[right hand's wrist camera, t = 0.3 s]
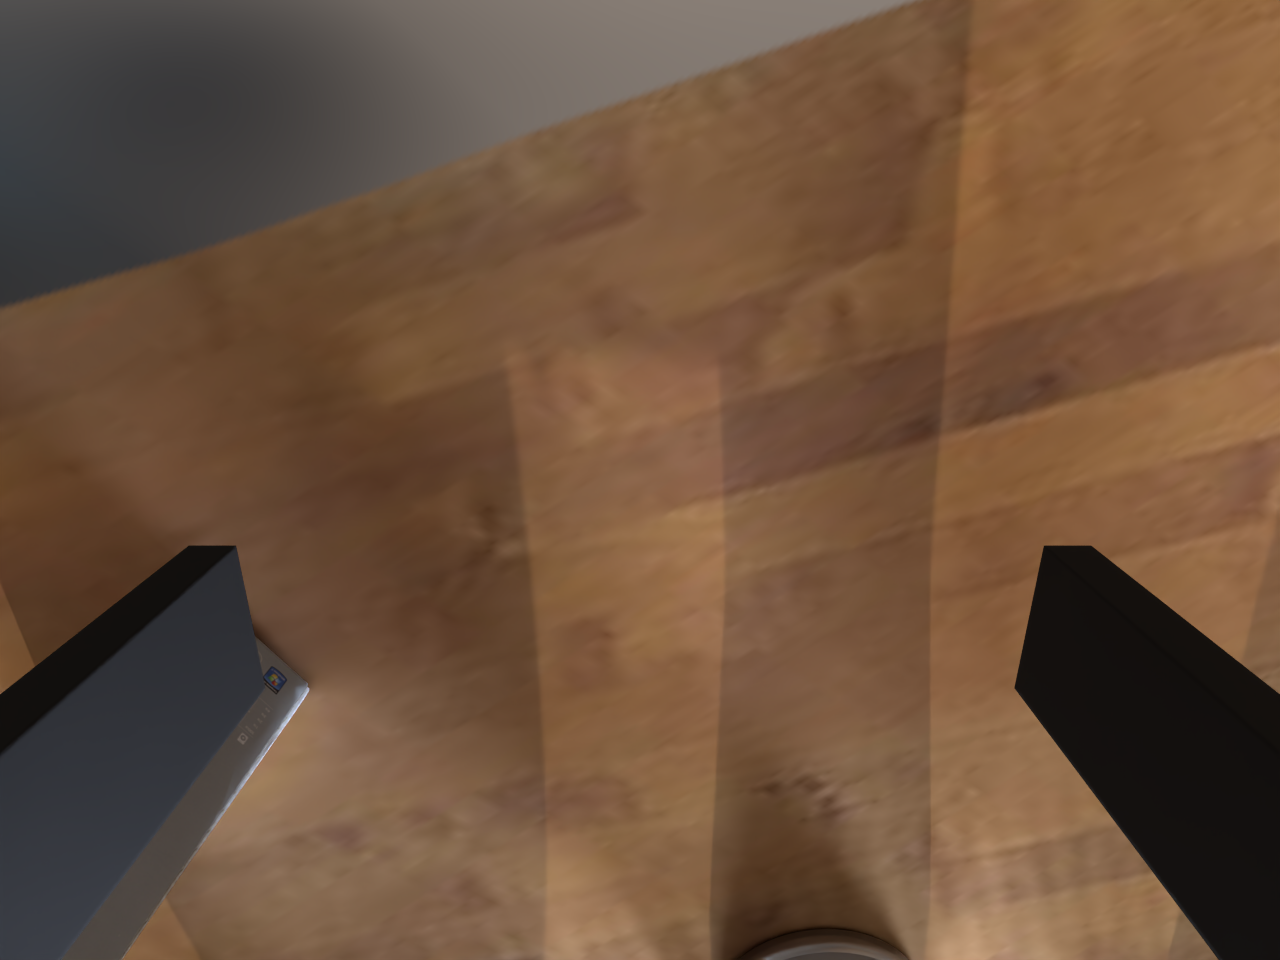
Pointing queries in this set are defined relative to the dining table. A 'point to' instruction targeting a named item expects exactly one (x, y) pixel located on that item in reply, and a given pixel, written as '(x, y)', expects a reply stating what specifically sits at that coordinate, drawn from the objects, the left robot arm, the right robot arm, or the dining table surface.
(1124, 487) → the dining table surface
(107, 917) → the hard drive box
